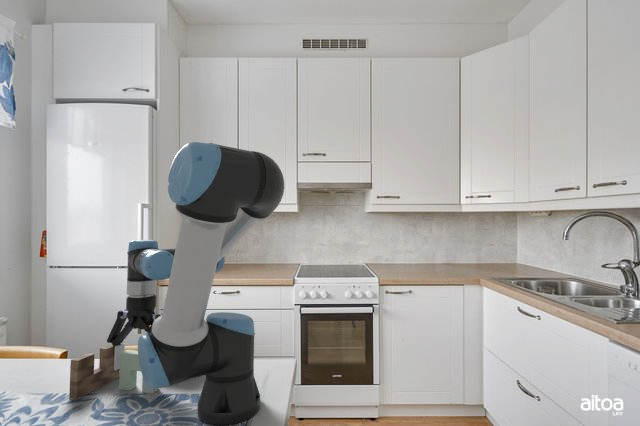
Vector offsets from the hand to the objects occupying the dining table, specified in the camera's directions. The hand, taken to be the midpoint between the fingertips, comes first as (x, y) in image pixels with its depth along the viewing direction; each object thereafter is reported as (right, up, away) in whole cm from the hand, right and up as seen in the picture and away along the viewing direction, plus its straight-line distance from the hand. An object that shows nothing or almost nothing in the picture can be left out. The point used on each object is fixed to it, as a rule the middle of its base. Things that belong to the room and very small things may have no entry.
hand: (139, 371), depth 97 cm
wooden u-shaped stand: (-12, -5, +1) cm, 13 cm away
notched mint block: (0, -5, -1) cm, 5 cm away
